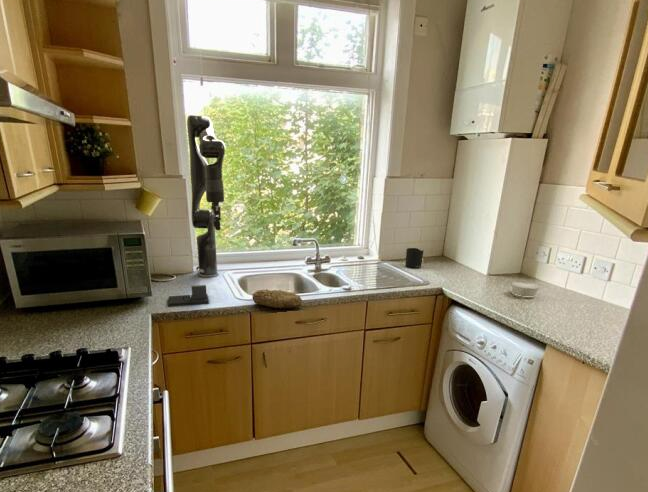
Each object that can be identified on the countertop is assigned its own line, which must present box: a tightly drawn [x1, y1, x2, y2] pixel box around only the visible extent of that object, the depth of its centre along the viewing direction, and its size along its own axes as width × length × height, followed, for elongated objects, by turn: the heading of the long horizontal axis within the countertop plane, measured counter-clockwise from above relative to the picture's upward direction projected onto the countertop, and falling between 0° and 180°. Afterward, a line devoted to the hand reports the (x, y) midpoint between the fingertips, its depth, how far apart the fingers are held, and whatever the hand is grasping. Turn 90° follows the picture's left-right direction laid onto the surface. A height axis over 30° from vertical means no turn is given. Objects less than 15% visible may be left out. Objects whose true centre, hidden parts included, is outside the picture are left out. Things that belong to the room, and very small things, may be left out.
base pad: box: [167, 294, 192, 307], centre depth 178 cm, size 10×9×1 cm
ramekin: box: [511, 281, 540, 299], centre depth 193 cm, size 11×11×5 cm
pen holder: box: [405, 247, 424, 270], centre depth 239 cm, size 9×9×10 cm
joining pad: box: [183, 284, 210, 306], centre depth 179 cm, size 10×10×6 cm
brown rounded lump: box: [251, 289, 303, 309], centre depth 174 cm, size 13×8×20 cm
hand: (217, 228), depth 186 cm, fingers open, 8 cm apart
